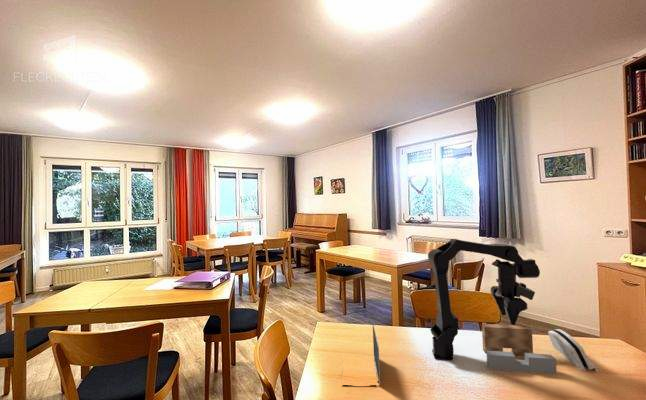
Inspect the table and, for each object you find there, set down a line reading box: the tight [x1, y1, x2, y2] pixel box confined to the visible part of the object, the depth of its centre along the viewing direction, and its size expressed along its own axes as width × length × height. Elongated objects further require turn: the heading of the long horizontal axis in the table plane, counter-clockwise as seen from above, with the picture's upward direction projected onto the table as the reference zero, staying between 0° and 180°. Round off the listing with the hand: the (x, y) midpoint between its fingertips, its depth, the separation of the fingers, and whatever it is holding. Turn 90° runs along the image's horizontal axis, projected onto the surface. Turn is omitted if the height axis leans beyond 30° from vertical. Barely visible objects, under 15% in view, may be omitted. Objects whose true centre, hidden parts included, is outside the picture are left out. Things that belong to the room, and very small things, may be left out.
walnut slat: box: [481, 323, 534, 357], centre depth 111 cm, size 16×3×10 cm, turn 78°
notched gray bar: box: [486, 351, 558, 375], centre depth 100 cm, size 20×3×5 cm, turn 78°
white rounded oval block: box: [547, 328, 599, 372], centre depth 106 cm, size 17×5×10 cm, turn 169°
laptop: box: [372, 324, 381, 386], centre depth 103 cm, size 18×12×13 cm
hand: (508, 319), depth 110 cm, fingers open, 9 cm apart
